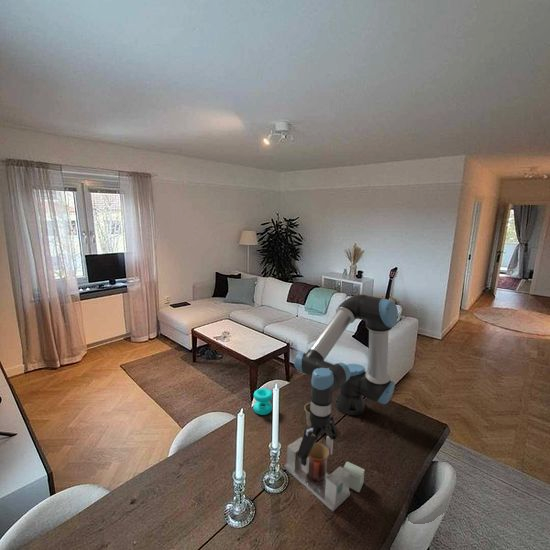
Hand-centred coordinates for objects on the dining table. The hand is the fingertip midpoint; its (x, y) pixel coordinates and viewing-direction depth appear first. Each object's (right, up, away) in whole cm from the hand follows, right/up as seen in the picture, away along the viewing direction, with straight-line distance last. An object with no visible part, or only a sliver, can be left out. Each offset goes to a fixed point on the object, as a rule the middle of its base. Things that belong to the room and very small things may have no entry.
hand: (317, 461), depth 115 cm
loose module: (+13, -9, +1) cm, 16 cm away
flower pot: (+3, -3, +34) cm, 34 cm away
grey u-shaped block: (0, -8, +1) cm, 8 cm away
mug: (-1, -7, +1) cm, 7 cm away
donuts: (-22, 0, +43) cm, 49 cm away
